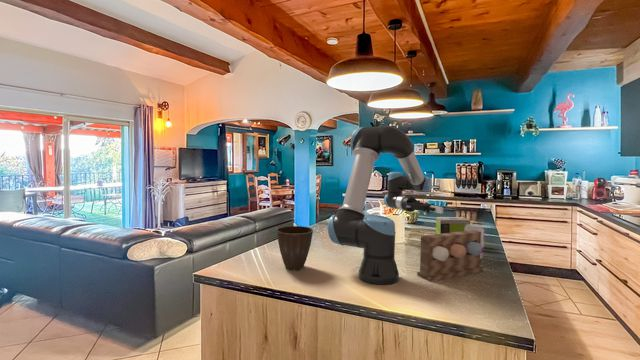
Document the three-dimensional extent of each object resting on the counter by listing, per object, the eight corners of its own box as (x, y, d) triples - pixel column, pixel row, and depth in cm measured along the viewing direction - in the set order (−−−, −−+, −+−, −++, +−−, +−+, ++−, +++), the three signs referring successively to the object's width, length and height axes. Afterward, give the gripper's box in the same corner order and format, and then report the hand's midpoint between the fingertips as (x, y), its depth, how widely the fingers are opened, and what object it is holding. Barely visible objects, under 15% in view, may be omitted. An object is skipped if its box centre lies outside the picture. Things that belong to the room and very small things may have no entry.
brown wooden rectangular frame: (430, 281, 124) (431, 239, 123) (417, 275, 130) (418, 235, 129) (482, 271, 136) (484, 232, 135) (468, 266, 142) (469, 229, 141)
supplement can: (477, 255, 160) (478, 224, 159) (486, 260, 151) (487, 227, 150) (460, 255, 159) (461, 223, 158) (468, 260, 151) (469, 227, 150)
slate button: (472, 256, 131) (473, 243, 131) (454, 250, 139) (455, 238, 139) (481, 254, 133) (482, 242, 133) (463, 249, 141) (463, 237, 141)
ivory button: (438, 262, 123) (438, 248, 123) (421, 255, 131) (421, 243, 131) (448, 260, 125) (448, 247, 125) (430, 254, 134) (431, 241, 133)
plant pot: (317, 263, 144) (317, 227, 143) (306, 275, 130) (306, 234, 129) (284, 260, 148) (284, 225, 147) (270, 271, 134) (270, 232, 133)
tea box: (463, 243, 181) (464, 216, 180) (470, 248, 171) (471, 220, 170) (435, 243, 183) (435, 216, 182) (439, 247, 173) (440, 219, 172)
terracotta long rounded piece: (456, 259, 127) (456, 246, 127) (438, 253, 135) (438, 240, 135) (465, 257, 129) (466, 244, 129) (447, 251, 137) (448, 239, 137)
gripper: (416, 210, 173) (452, 217, 152) (396, 211, 167) (430, 219, 146) (417, 195, 172) (453, 201, 151) (396, 196, 167) (431, 202, 146)
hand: (441, 210), depth 149 cm, fingers closed
